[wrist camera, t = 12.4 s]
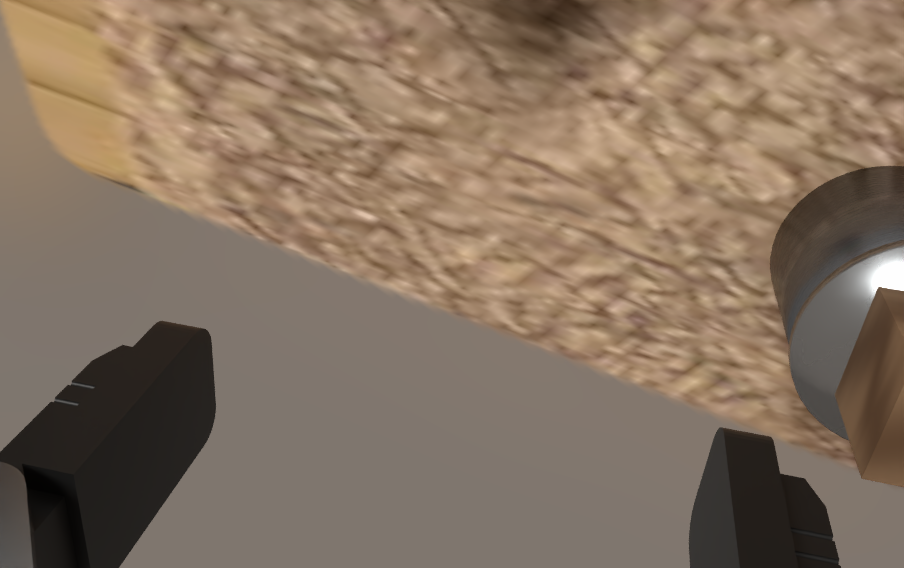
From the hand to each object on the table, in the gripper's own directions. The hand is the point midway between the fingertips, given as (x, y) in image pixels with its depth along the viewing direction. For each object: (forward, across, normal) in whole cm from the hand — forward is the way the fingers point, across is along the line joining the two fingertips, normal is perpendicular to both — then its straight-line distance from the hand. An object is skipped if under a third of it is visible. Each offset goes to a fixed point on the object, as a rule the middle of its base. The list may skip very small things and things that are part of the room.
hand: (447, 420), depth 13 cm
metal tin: (+32, -16, +10) cm, 37 cm away
